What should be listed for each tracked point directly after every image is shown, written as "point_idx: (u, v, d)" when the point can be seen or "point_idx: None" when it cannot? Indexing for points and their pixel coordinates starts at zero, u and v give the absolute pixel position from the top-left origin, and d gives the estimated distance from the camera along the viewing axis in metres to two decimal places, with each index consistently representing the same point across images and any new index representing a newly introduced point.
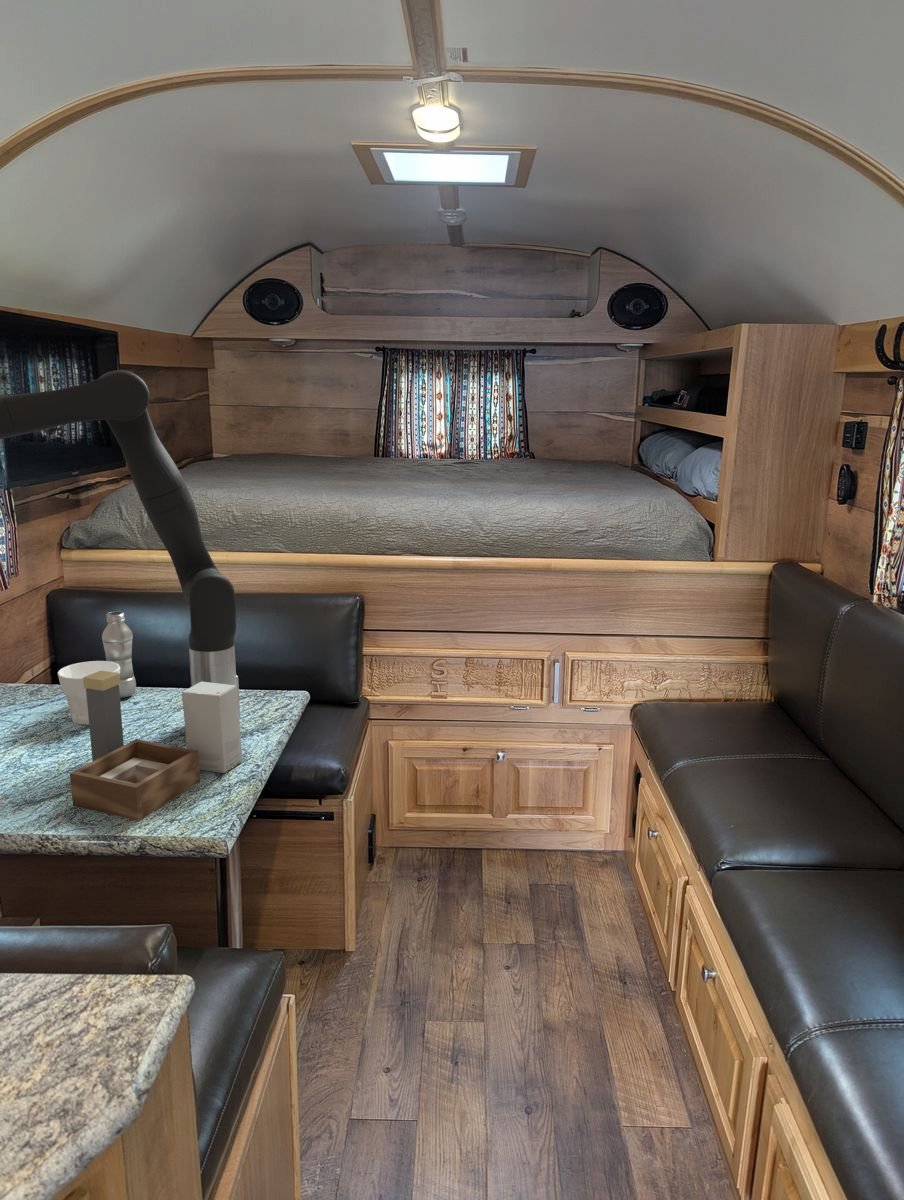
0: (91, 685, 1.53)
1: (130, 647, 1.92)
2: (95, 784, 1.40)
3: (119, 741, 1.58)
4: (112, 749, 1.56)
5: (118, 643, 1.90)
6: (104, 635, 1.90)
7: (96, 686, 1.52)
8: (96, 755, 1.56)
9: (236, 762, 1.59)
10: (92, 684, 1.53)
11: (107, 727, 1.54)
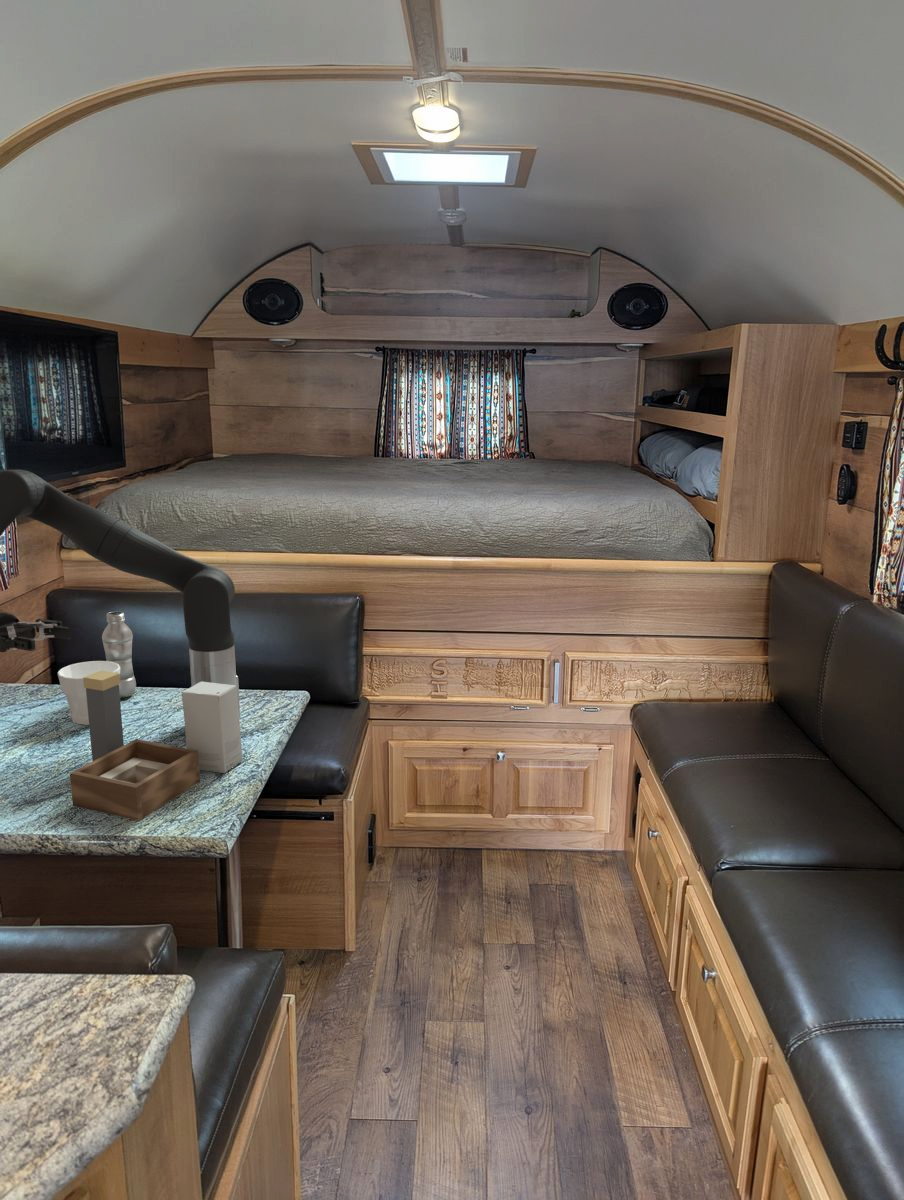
0: (91, 685, 1.53)
1: (130, 647, 1.92)
2: (95, 784, 1.40)
3: (119, 741, 1.58)
4: (112, 749, 1.56)
5: (118, 643, 1.90)
6: (104, 635, 1.90)
7: (96, 686, 1.52)
8: (96, 755, 1.56)
9: (236, 762, 1.59)
10: (92, 684, 1.53)
11: (107, 727, 1.54)
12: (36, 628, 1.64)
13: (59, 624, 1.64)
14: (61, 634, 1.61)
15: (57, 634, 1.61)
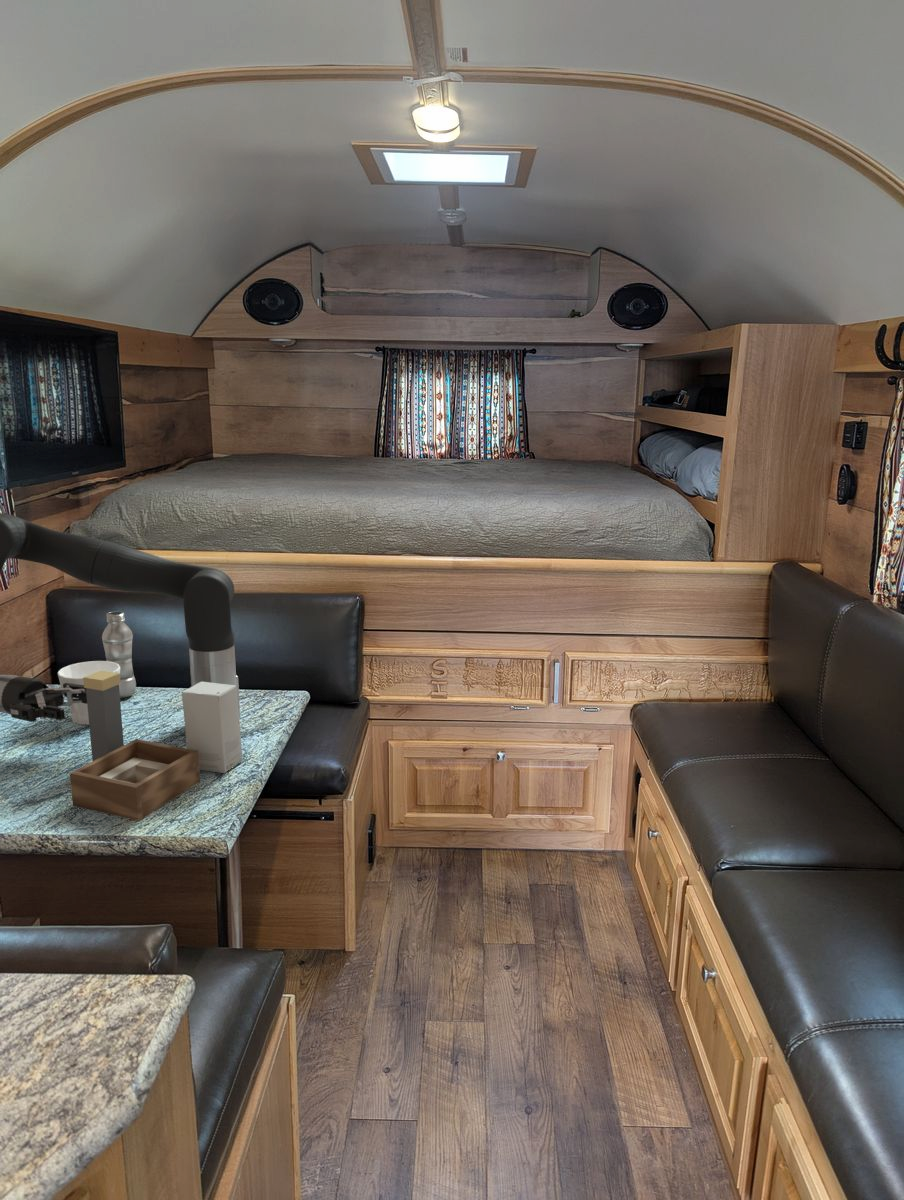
0: (91, 685, 1.53)
1: (130, 647, 1.92)
2: (95, 784, 1.40)
3: (119, 741, 1.58)
4: (112, 749, 1.56)
5: (118, 643, 1.90)
6: (104, 635, 1.90)
7: (97, 686, 1.52)
8: (96, 755, 1.56)
9: (236, 762, 1.59)
10: (92, 684, 1.53)
11: (107, 727, 1.54)
12: (64, 693, 1.65)
13: None
14: None
15: (85, 700, 1.63)
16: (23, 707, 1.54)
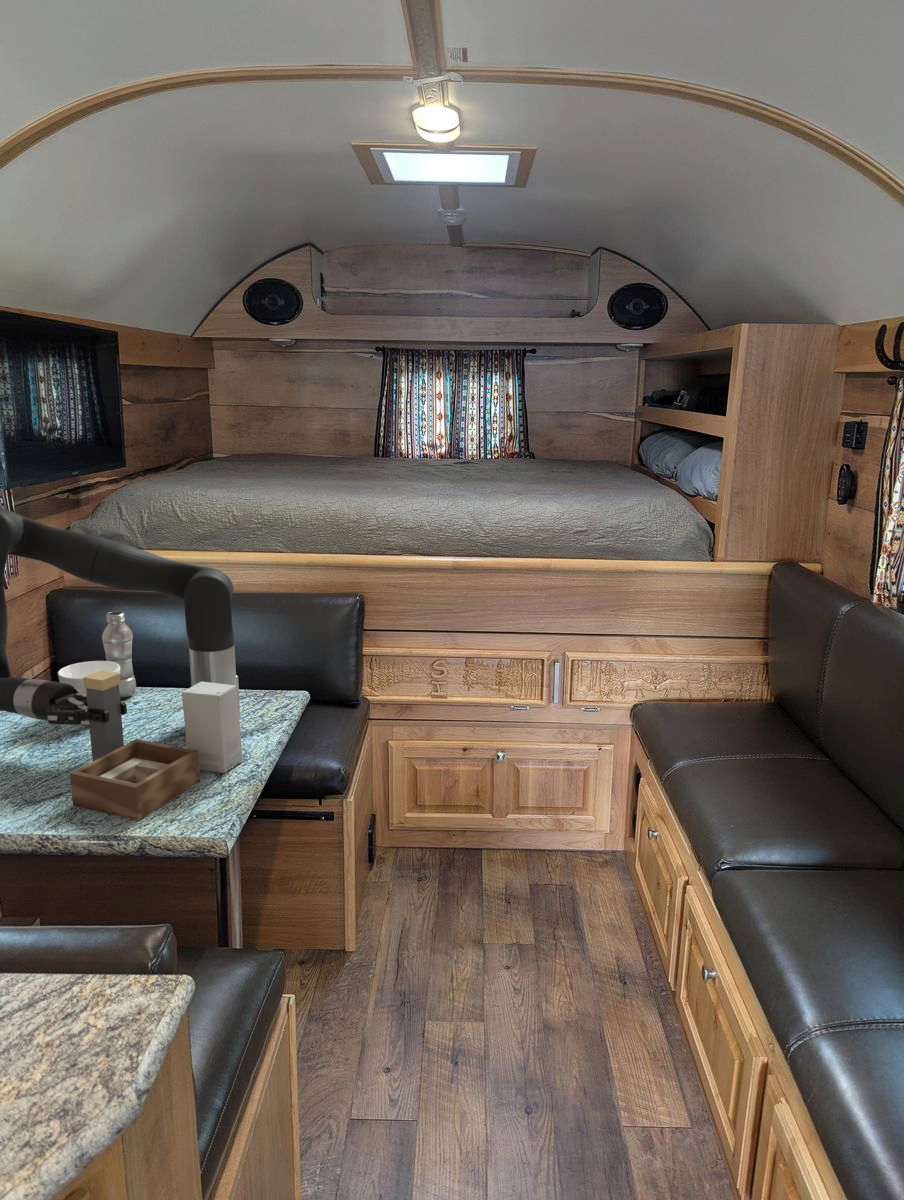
0: (91, 685, 1.53)
1: (130, 647, 1.92)
2: (95, 784, 1.40)
3: (119, 741, 1.58)
4: (112, 749, 1.56)
5: (118, 643, 1.90)
6: (104, 635, 1.90)
7: (97, 686, 1.52)
8: (97, 755, 1.56)
9: (236, 762, 1.59)
10: (92, 684, 1.53)
11: (107, 727, 1.54)
12: None
13: None
14: None
15: None
16: (66, 711, 1.52)
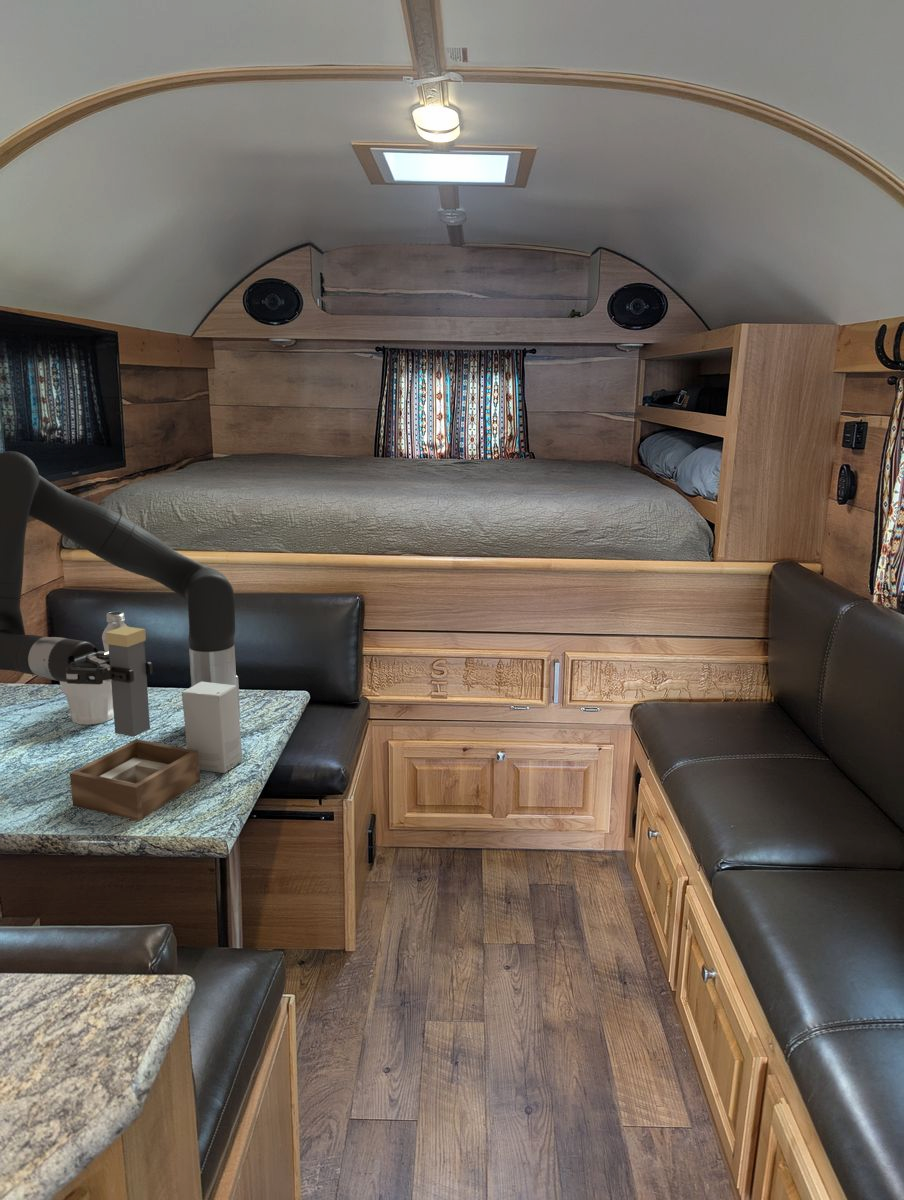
0: (115, 641, 1.39)
1: None
2: (95, 784, 1.40)
3: (144, 703, 1.44)
4: (136, 712, 1.42)
5: None
6: (104, 635, 1.90)
7: (120, 641, 1.39)
8: (119, 719, 1.43)
9: (236, 762, 1.59)
10: (115, 640, 1.39)
11: (131, 687, 1.41)
12: None
13: None
14: None
15: None
16: (86, 669, 1.38)
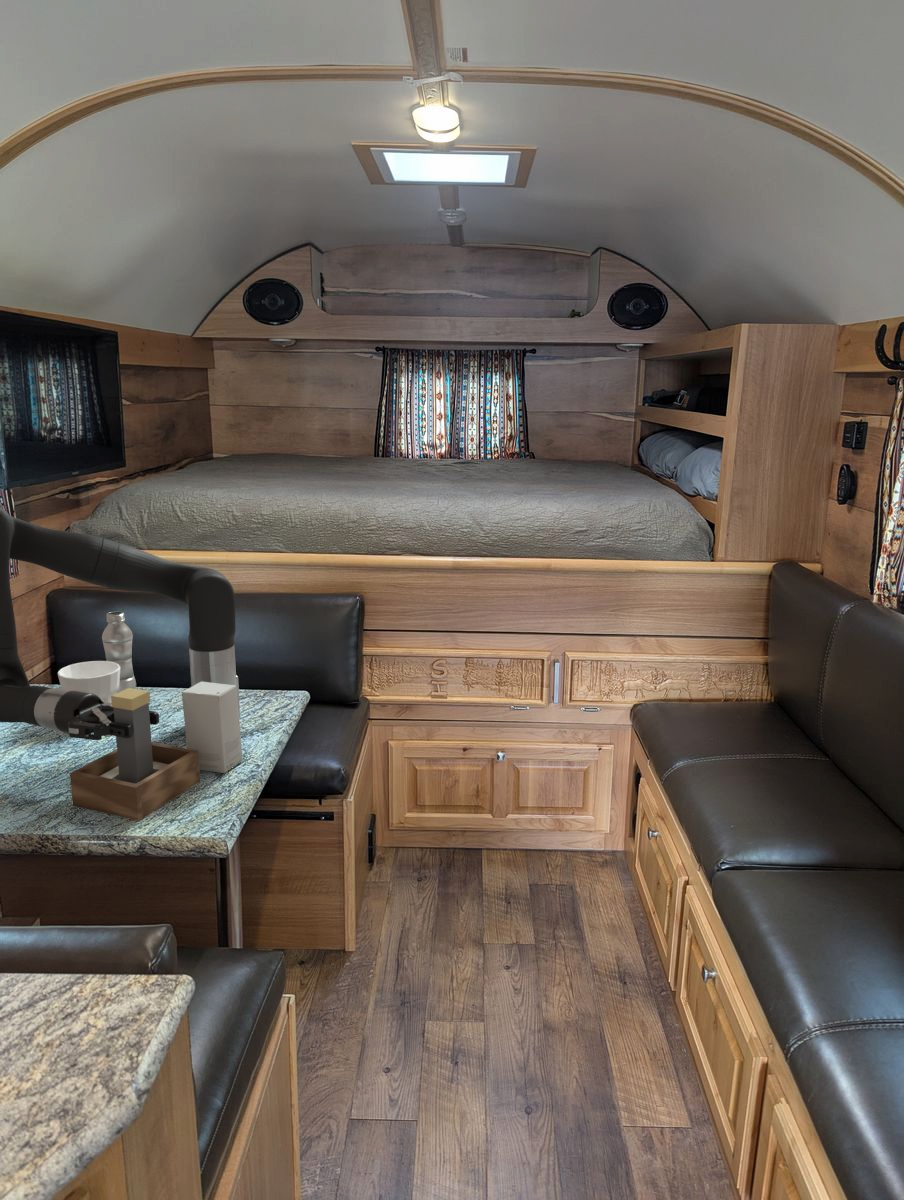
0: (120, 704, 1.42)
1: (130, 647, 1.92)
2: (95, 784, 1.40)
3: (149, 763, 1.47)
4: (141, 773, 1.45)
5: (118, 643, 1.90)
6: (104, 635, 1.90)
7: (125, 705, 1.41)
8: (125, 779, 1.45)
9: (236, 762, 1.59)
10: (120, 703, 1.42)
11: (137, 749, 1.43)
12: None
13: None
14: None
15: None
16: (86, 725, 1.40)
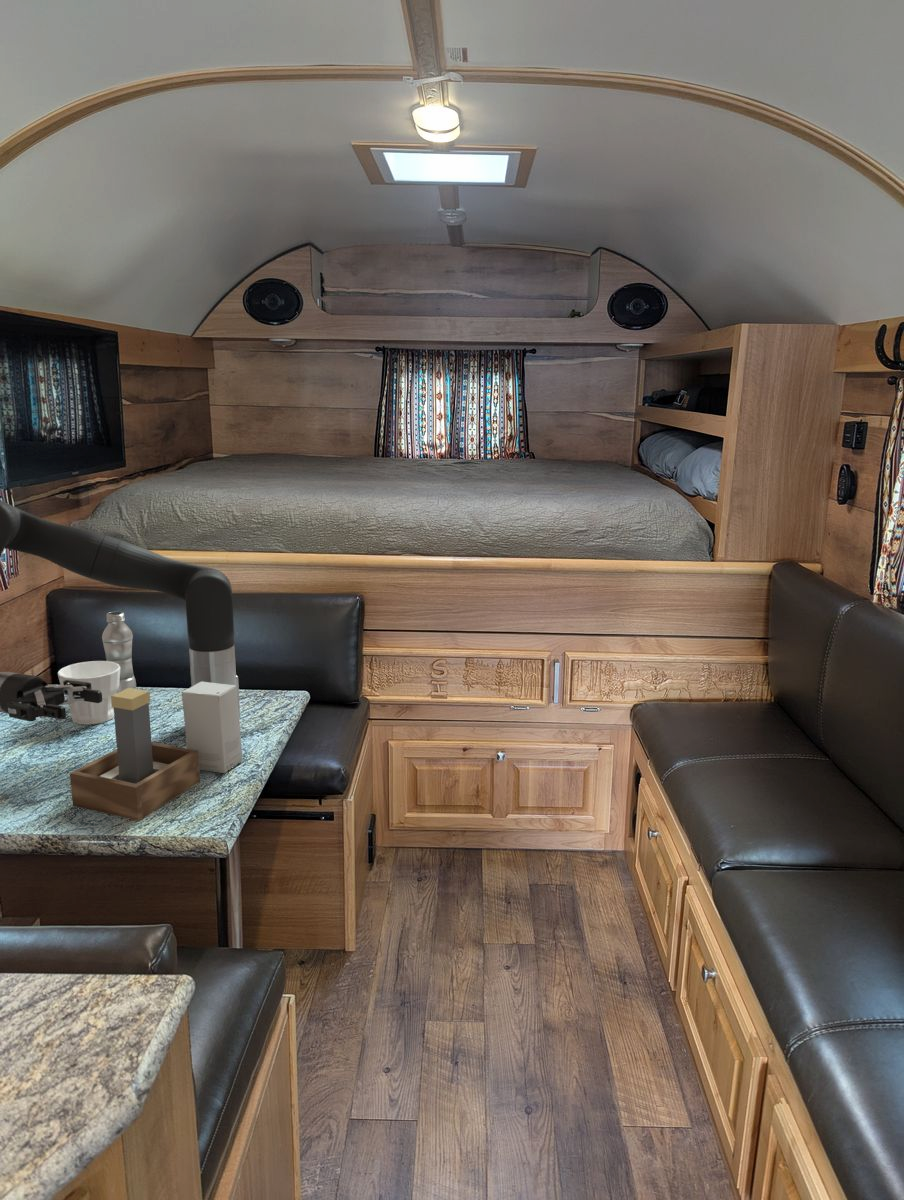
0: (120, 704, 1.42)
1: (130, 647, 1.92)
2: (95, 784, 1.40)
3: (149, 763, 1.47)
4: (141, 773, 1.45)
5: (118, 643, 1.90)
6: (104, 635, 1.90)
7: (125, 705, 1.41)
8: (125, 779, 1.45)
9: (236, 762, 1.59)
10: (120, 703, 1.42)
11: (137, 749, 1.43)
12: (64, 690, 1.56)
13: (88, 686, 1.56)
14: (91, 698, 1.53)
15: (87, 697, 1.53)
16: (21, 706, 1.45)
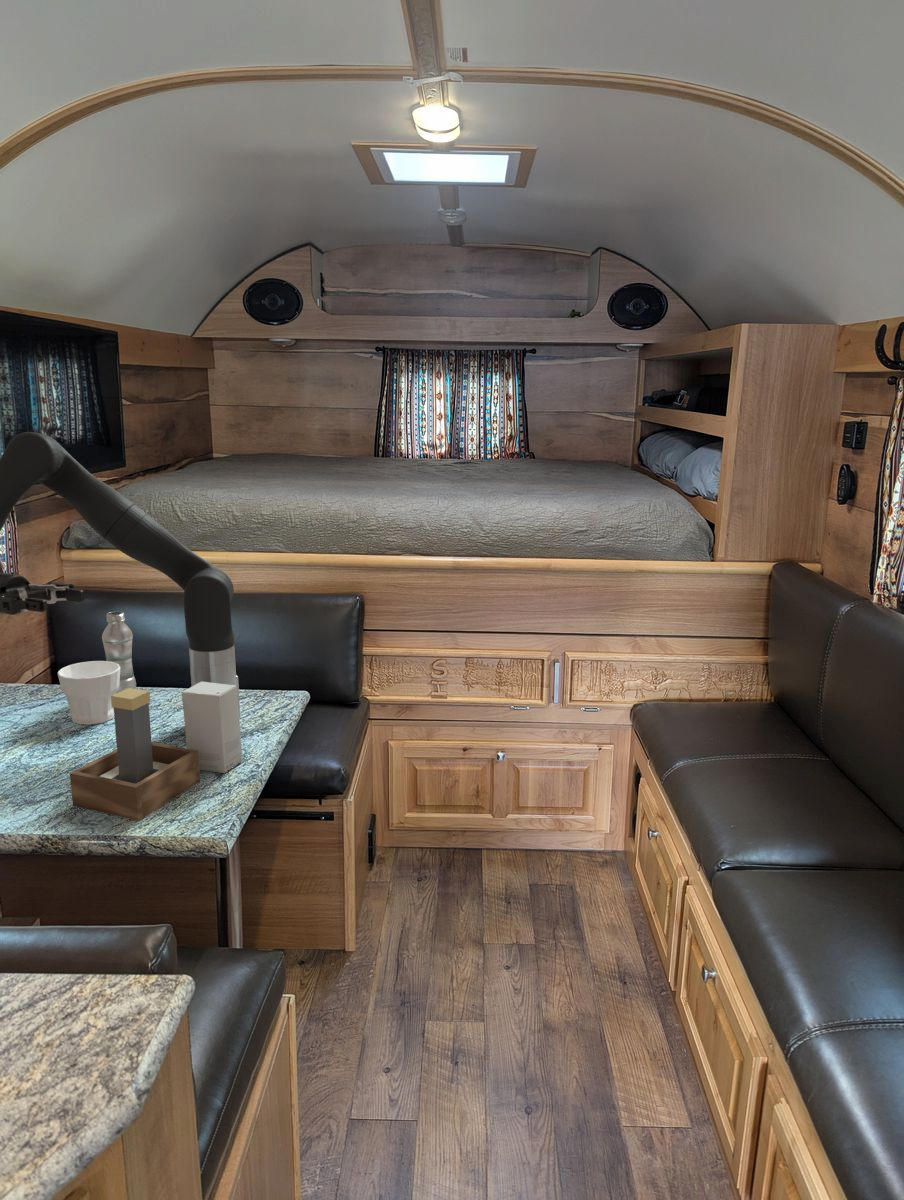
0: (120, 704, 1.42)
1: (130, 647, 1.92)
2: (95, 784, 1.40)
3: (149, 763, 1.47)
4: (141, 773, 1.45)
5: (118, 643, 1.90)
6: (104, 635, 1.90)
7: (125, 705, 1.41)
8: (125, 779, 1.45)
9: (236, 762, 1.59)
10: (120, 703, 1.42)
11: (137, 749, 1.43)
12: (47, 591, 1.59)
13: (71, 587, 1.58)
14: (74, 597, 1.55)
15: (69, 597, 1.56)
16: (4, 598, 1.47)
